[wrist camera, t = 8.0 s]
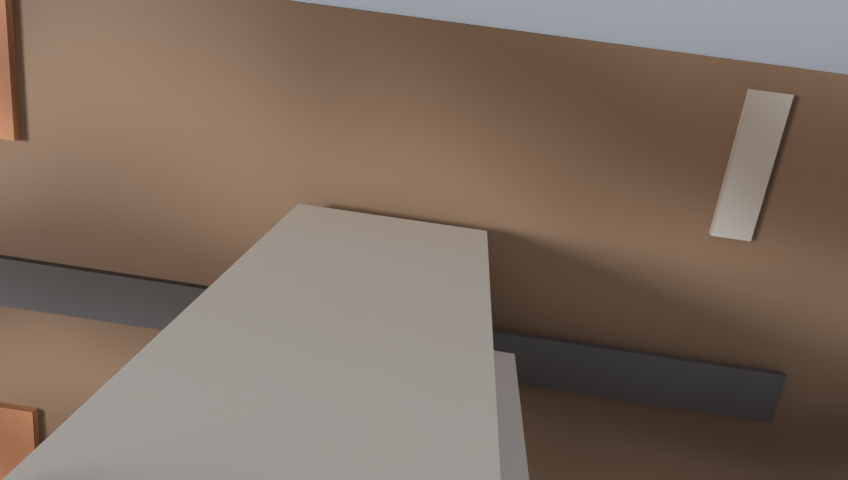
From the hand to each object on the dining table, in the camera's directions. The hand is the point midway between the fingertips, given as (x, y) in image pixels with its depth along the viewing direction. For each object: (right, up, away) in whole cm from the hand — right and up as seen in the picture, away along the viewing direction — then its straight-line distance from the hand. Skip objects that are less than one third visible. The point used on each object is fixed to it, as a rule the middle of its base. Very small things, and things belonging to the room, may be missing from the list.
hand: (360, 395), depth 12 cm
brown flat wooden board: (-3, +2, +4) cm, 6 cm away
